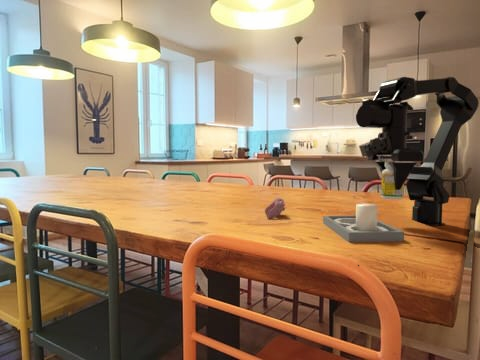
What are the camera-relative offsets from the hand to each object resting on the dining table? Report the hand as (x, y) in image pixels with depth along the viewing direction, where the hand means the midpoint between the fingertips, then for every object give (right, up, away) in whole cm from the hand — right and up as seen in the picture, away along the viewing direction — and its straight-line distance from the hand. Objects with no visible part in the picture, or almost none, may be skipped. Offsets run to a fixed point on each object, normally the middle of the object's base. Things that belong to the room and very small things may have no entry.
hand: (392, 188), depth 90 cm
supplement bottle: (0, -3, 0) cm, 3 cm away
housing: (-11, -11, -6) cm, 17 cm away
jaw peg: (-11, -11, -11) cm, 19 cm away
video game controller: (-29, -10, +20) cm, 36 cm away
